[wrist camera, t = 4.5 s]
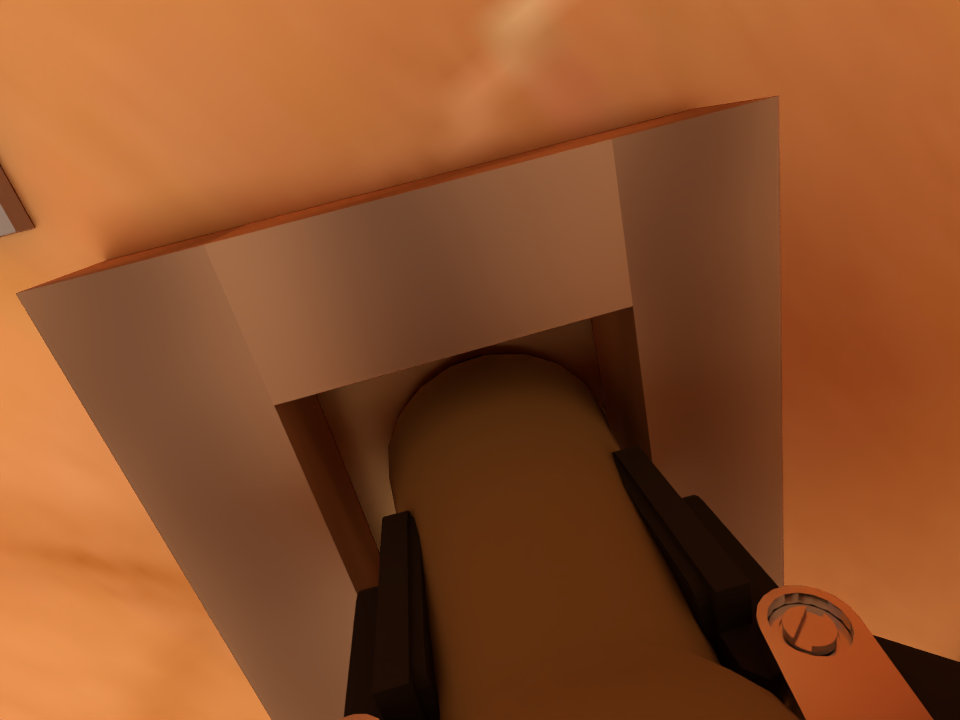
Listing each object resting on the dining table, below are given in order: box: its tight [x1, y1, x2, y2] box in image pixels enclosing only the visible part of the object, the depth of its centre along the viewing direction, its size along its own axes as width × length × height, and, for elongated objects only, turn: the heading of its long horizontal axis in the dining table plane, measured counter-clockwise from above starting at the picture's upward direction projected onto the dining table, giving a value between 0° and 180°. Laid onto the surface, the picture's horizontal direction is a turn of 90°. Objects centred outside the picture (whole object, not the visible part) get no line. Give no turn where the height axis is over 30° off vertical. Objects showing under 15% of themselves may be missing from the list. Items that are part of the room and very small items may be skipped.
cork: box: [388, 354, 800, 720], centre depth 9 cm, size 6×6×11 cm
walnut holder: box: [16, 96, 784, 720], centre depth 13 cm, size 14×14×3 cm
